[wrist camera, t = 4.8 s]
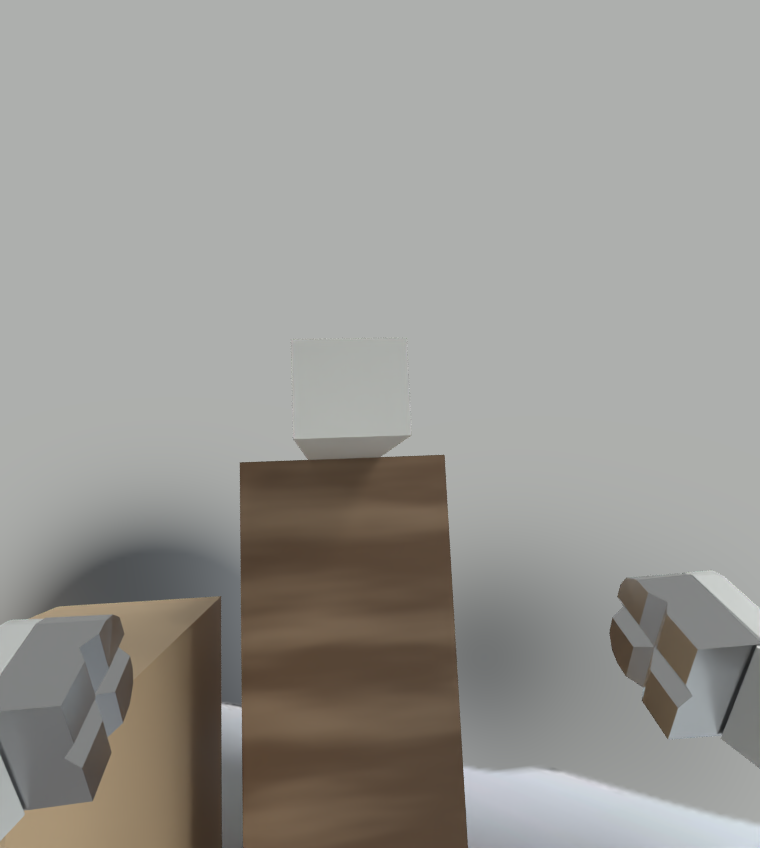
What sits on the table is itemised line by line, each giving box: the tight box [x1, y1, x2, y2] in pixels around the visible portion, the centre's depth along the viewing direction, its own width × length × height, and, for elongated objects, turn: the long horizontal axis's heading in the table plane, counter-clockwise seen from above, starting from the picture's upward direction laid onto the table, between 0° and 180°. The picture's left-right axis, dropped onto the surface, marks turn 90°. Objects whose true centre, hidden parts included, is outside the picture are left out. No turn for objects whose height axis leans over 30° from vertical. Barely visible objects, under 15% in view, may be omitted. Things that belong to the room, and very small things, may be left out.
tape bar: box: [291, 338, 412, 460], centre depth 29 cm, size 28×4×3 cm, turn 6°
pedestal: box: [240, 455, 468, 848], centre depth 31 cm, size 16×10×26 cm, turn 6°
